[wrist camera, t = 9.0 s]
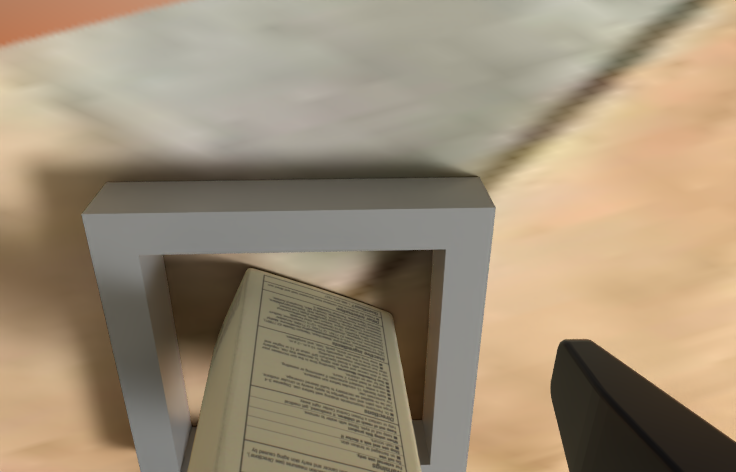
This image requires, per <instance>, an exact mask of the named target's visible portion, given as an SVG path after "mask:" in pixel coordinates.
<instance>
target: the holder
mask: <svg viewBox="0 0 736 472" xmlns="http://www.w3.org/2000/svg"><path fill="white" fill-rule="evenodd" d="M495 208H496V207H495V206H494V204H493V202H492V200H491V198H490V196H489V194H488V192H487V190H486V188H485V186H484V185H483V183H482V181H481V179H480V177H451V178H377V179H304V180H230V181H157V182H106V183H105V185H104V186H103V187H102V189H101V190H100V191H99V192H98V194H97V195H96V196H95V197H94V199H93V200H92V201H91V203H90V204H89V205H88V206H87V208H86V209H85V210H84V211H83V213H82V214H81V215H82V219H83V224H84V228H85V232H86V237H87V241H88V245H89V250H90V254H91V258H92V263H93V267H94V271H95V276H96V280H97V284H98V289H99V293H100V297H101V302H102V306H103V310H104V315H105V319H106V323H107V328H108V332H109V336H110V341H111V345H112V349H113V354H114V358H115V362H116V367H117V371H118V375H119V380H120V384H121V388H122V393H123V397H124V401H125V406H126V410H127V414H128V419H129V423H130V427H131V432H132V436H133V440H134V445H135V449H136V453H137V458H138V462H139V466H140V471H141V472H187V471H188V466H189V462H190V457H191V452H192V448H193V443H194V438H195V434H196V429H197V427H192V424H191V418H190V412H189V406H188V400H187V394H186V388H185V382H184V376H183V371H182V365H181V359H180V353H179V347H178V341H177V335H176V329H175V323H174V317H173V311H172V305H171V299H170V293H169V288H168V282H167V276H166V270H165V264H164V258H163V255H173V254H226V253H279V252H331V251H384V250H433V259H432V275H431V291H430V307H429V323H428V339H427V355H426V370H425V386H424V402H423V418H422V420H412V424H413V429H414V435H415V440H416V445H417V451H418V457H419V462H420V467H421V472H466V467H467V458H468V449H469V440H470V431H471V422H472V413H473V404H474V396H475V387H476V378H477V369H478V360H479V351H480V342H481V333H482V324H483V315H484V306H485V298H486V289H487V280H488V271H489V262H490V253H491V244H492V235H493V226H494V217H495Z"/></svg>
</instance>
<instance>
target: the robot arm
mask: <svg viewBox="0 0 736 472" xmlns="http://www.w3.org/2000/svg"><path fill="white" fill-rule="evenodd" d="M551 398H552V403H553V407H554V411H555V415H556V419H557V423H558V427H559V431H560V435H561V439H562V443H563V447H564V451H565V456H566V460H567V464H568V468H569V472H736V442H735V441H734V440H732V439H731V438H729V437H728V436H727V435H725V434H724V433H722V432H721V431H719V430H718V429H717V428H715V427H714V426H712V425H711V424H709V423H708V422H707V421H705V420H704V419H702V418H701V417H700V416H698V415H697V414H695V413H694V412H692V411H691V410H690V409H688V408H687V407H685V406H684V405H682V404H681V403H680V402H678V401H677V400H675V399H674V398H672V397H671V396H670V395H668V394H667V393H665V392H664V391H663V390H661V389H660V388H658V387H657V386H655V385H654V384H653V383H651V382H650V381H648V380H647V379H645V378H644V377H643V376H641V375H640V374H638V373H637V372H636V371H634V370H633V369H631V368H630V367H628V366H627V365H626V364H624V363H623V362H621V361H620V360H618V359H617V358H616V357H614V356H613V355H611V354H610V353H609V352H607V351H606V350H604V349H603V348H601V347H600V346H599V345H597V344H596V343H594V342H593V341H591V340H588V339H565V340H563V341H562V342H560V344H559V346H558V349H557V354H556V359H555V364H554V369H553V374H552V379H551Z"/></svg>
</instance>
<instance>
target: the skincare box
mask: <svg viewBox="0 0 736 472" xmlns="http://www.w3.org/2000/svg"><path fill="white" fill-rule="evenodd" d="M187 472H421V467H420V462H419V457H418V451H417V445H416V440H415V435H414V429H413V424H412V419H411V414H410V409H409V404H408V398H407V392H406V387H405V381H404V376H403V369H402V365H401V360H400V354H399V349H398V344H397V337H396V333H395V326H394V321H393V317H392V315H391V314H390V313H389V312H386V311H383V310H380V309H378V308H375V307H373V306H370V305H366V304H364V303H361V302H358V301H355V300H352V299H350V298H346V297H343V296H340V295H337V294H334V293H331V292H328V291H325V290H322V289H319V288H316V287H313V286H310V285H306V284H303V283H300V282H297V281H293V280H290V279H287V278H284V277H280V276H277V275H273V274H270V273H267V272H264V271H260V270H257V269H253V268H249V269H247V271H246V273H245V275H244V277H243V279H242V281H241V283H240V285H239V288H238V290H237V292H236V294H235V296H234V299H233V301H232V303H231V305H230V308H229V310H228V312H227V315H226V317H225V320H224V322H223V325H222V327H221V330H220V332H219V335H218V338H217V341H216V344H215V347H214V351H213V356H212V360H211V365H210V369H209V374H208V378H207V383H206V387H205V392H204V396H203V401H202V406H201V410H200V415H199V420H198V425H197V429H196V434H195V438H194V443H193V448H192V452H191V457H190V462H189V466H188V471H187Z"/></svg>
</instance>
